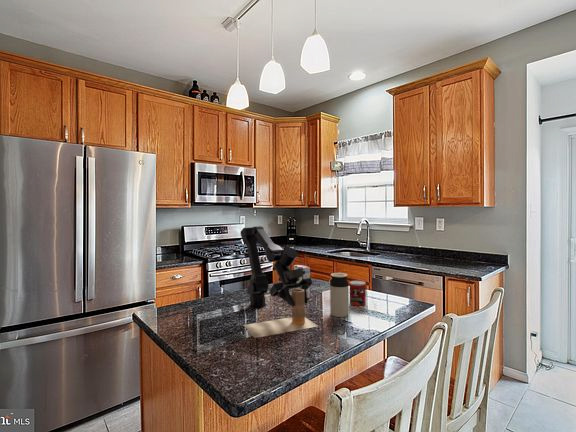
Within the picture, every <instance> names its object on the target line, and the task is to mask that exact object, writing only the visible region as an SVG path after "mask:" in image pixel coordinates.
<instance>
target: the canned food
mask: <svg viewBox="0 0 576 432" xmlns="http://www.w3.org/2000/svg"><path fill="white" fill-rule="evenodd" d="M366 292H367V283H366V282H365V280H364V281H362V280H351V281H349V305H350V306H352V307H356V308H361V307H362V308H363V307H365V306H367V305H366V304H367V293H366Z"/></svg>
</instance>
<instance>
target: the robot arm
mask: <svg viewBox="0 0 576 432" xmlns="http://www.w3.org/2000/svg"><path fill="white" fill-rule="evenodd" d="M240 237H241V240H242V242H243V243H244V244H245V245H246V248H247V252H248V253H247V254H248V259H249V264H250V266H249V267H250V270H251V276H250V279H249V286H248V287H247V288H246V292H247V295H249V297H250V303H249V305H248V307H249V308H255V309H261V308H264V307H265V306H267V304H266V296H265V294H267V293H268V290H269V295H270V296H271V297H277V298H280V299H282V300H283V301H285V302H286V303H287V304H289V305H290V306H291V307H292V306H293V307H294V306H295V304H294V301H293V299H292V294H290V290H293V289H294V288H298V289H304V292H305V305H306V304H308V302H309V301H308V298H307V293H306V290H307V289H308V288H309V287H310V288H311V286H312V285H313V279H312V278H311V277H310V278H304V279H302V280H301V281H300V282H299V283H297V281H298V280H299V278H300V277H303V275H304V274H305V270H304V268H303V267H299V268H298V269H295V270H294V269H291V267H290V266H292V265H293V263H294V262H295V260H296V259H297V257H298V251H297V250H296V249H294V248H293V247H291V246H290V245H285V246H284V248H282V247H281V246H280V245H278V244H276V243H274V241H272V239H271V238H270V236H269V235H268V234H267V232H266V231H265V230H264V226H261V225H260V226H259V225H258V226H252V227H243V228H242V230H240ZM258 243H259V244H260V245H261V246H262V247H263V249H264V251H265V253H264V255H265V257H266V259H267V261H268V262H269V263H273V262H274V264H273V266H272V269H271V270H272V271H276V273H277V275H278V279H277V280H278V282H276V283H275V282H274V283H273V285H272V286H271V288H270V289H269V281H268V275H267V274H264V273H263V271H262V265H261V261H260V260H261V259H260V256H259V250H258V245H257V244H258Z"/></svg>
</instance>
